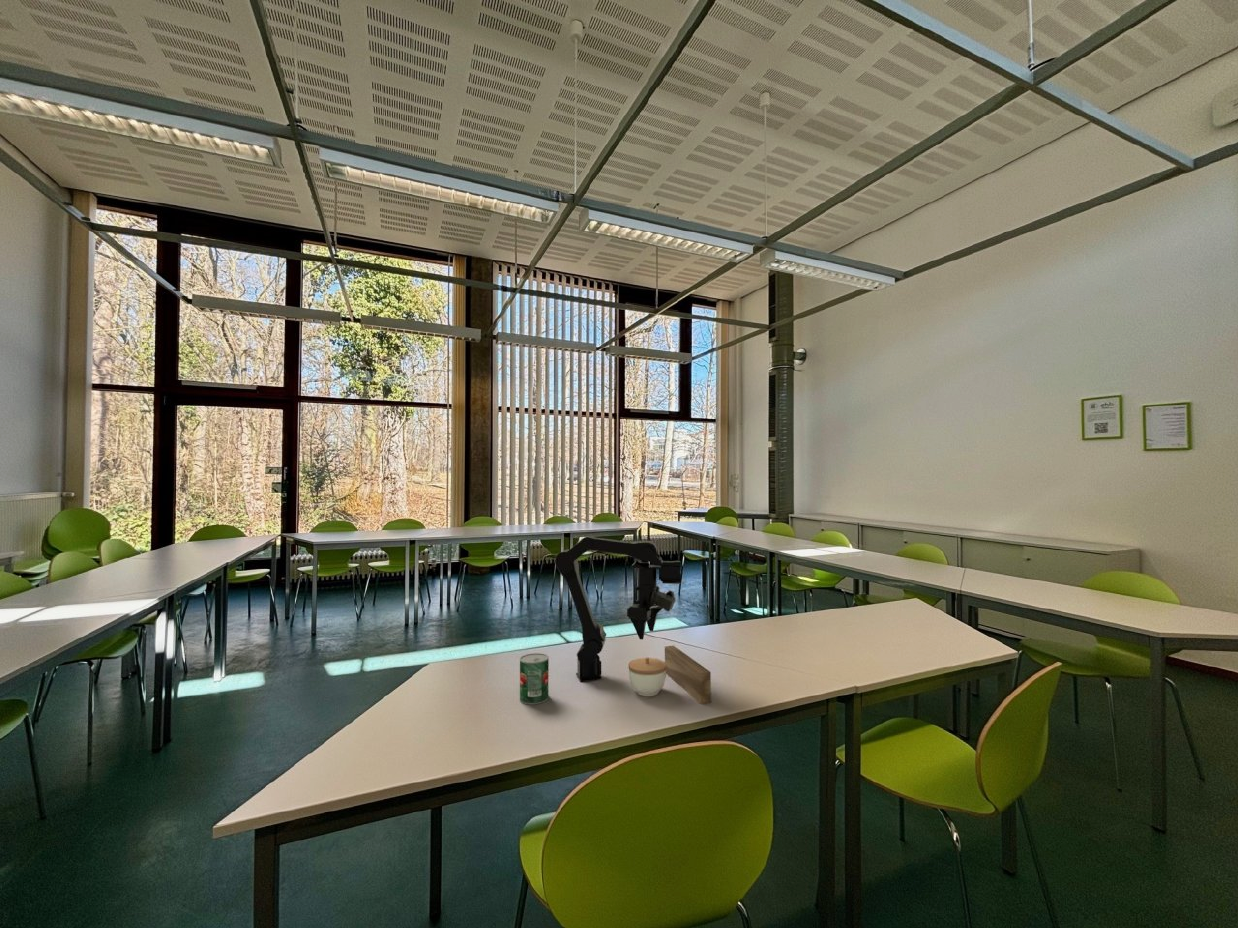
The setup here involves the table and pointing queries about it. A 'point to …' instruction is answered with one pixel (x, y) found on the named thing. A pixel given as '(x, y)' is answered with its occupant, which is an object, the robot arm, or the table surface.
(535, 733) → the table surface
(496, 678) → the table surface
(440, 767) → the table surface
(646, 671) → the lidded jar
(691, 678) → the walnut board
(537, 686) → the canned tomato
